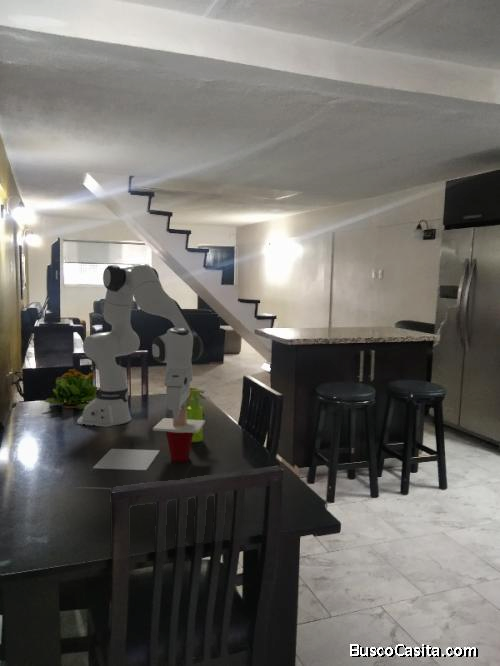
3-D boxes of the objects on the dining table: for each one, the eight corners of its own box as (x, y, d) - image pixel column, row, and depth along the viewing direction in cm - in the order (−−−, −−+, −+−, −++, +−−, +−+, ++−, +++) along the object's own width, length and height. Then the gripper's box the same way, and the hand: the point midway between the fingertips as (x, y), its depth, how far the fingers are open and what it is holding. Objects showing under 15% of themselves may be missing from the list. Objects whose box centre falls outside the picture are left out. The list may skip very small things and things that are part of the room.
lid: (152, 430, 166) (153, 414, 165) (163, 420, 181) (164, 405, 180) (197, 433, 165) (198, 417, 164) (204, 422, 180) (205, 407, 179)
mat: (92, 469, 165) (92, 468, 165) (111, 450, 183) (111, 448, 183) (146, 471, 164) (146, 470, 164) (159, 451, 182) (159, 450, 182)
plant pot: (194, 406, 242) (194, 386, 241) (203, 411, 233) (203, 390, 232) (174, 409, 237) (173, 388, 236) (182, 414, 228) (182, 393, 227)
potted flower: (48, 416, 224) (46, 378, 221) (39, 404, 244) (37, 368, 241) (104, 408, 237) (103, 372, 235) (91, 397, 257) (90, 363, 254)
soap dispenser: (202, 443, 190) (202, 392, 188) (185, 442, 192) (184, 391, 189) (207, 438, 196) (206, 388, 193) (190, 437, 197) (189, 387, 195)
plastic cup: (201, 457, 177) (201, 424, 175) (185, 468, 167) (184, 433, 165) (175, 452, 181) (175, 420, 180) (158, 462, 172) (157, 428, 170)
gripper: (176, 369, 181) (177, 406, 183) (163, 382, 161) (163, 424, 162) (194, 369, 180) (194, 407, 182) (182, 382, 160) (182, 424, 162)
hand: (179, 415), depth 172 cm, fingers open, 8 cm apart
